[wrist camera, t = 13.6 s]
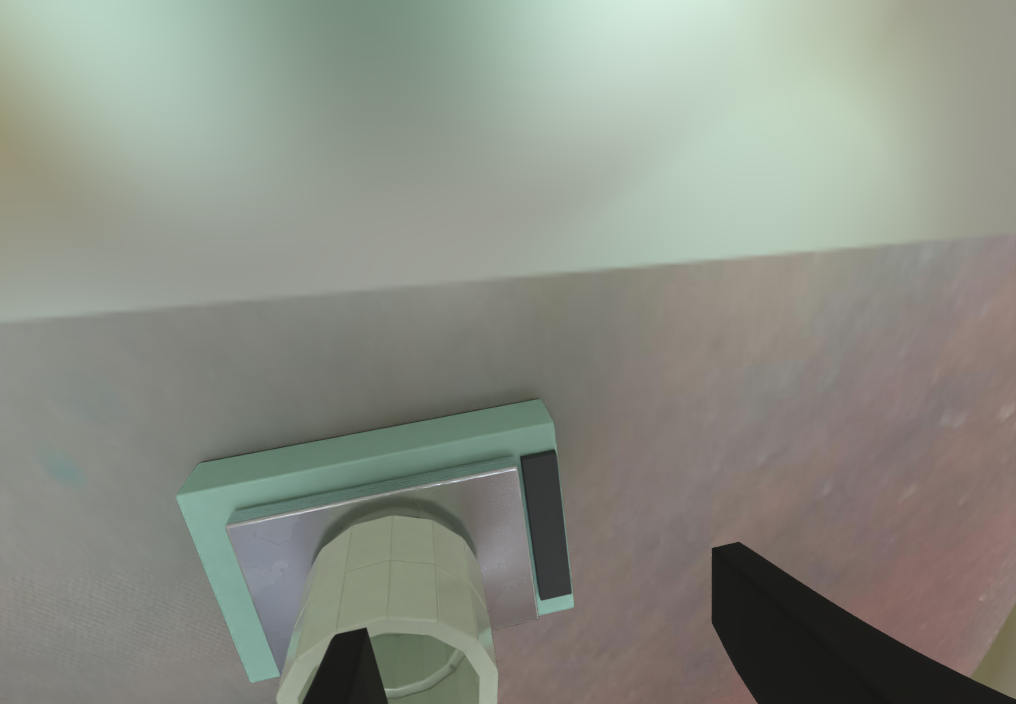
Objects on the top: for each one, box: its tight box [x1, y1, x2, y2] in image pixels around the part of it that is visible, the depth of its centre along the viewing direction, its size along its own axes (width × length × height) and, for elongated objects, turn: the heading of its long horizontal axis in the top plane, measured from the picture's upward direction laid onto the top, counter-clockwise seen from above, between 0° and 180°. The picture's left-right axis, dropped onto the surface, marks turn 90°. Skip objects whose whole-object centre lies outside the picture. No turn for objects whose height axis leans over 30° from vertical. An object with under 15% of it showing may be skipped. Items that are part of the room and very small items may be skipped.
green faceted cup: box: [276, 515, 498, 704], centre depth 16 cm, size 5×6×4 cm
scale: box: [176, 399, 574, 683], centre depth 20 cm, size 12×8×2 cm, turn 97°
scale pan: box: [225, 456, 539, 677], centre depth 18 cm, size 9×6×1 cm
